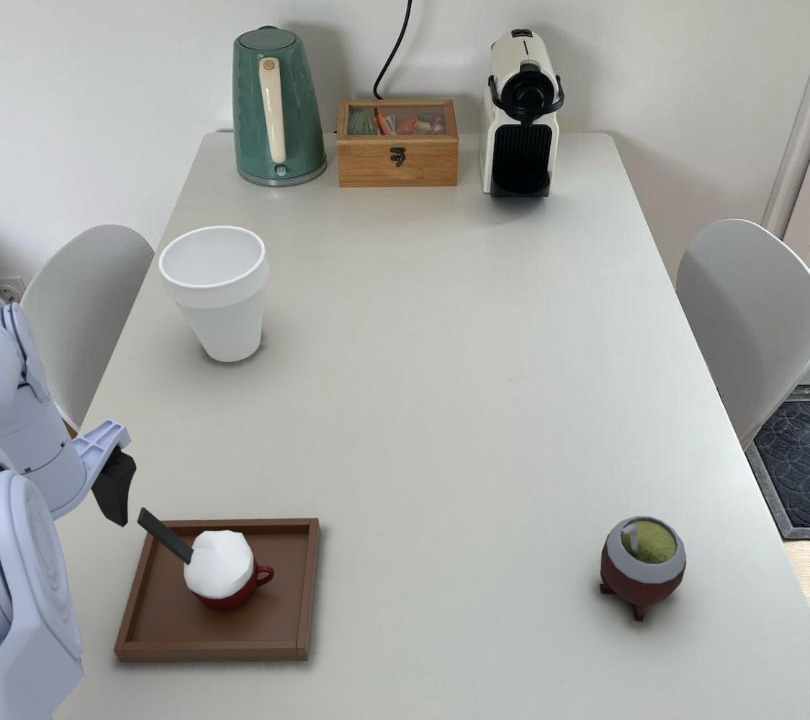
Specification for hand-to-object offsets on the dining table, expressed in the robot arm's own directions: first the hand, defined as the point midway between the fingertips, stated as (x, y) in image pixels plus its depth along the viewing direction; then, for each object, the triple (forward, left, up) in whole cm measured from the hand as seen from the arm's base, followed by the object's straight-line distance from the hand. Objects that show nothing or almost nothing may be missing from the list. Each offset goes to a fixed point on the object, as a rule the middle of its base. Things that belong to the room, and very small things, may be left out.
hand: (83, 553), depth 67 cm
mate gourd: (+25, -40, -11) cm, 48 cm away
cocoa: (+7, -7, -10) cm, 14 cm away
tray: (+7, -7, -10) cm, 14 cm away
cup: (+35, +15, -11) cm, 40 cm away
